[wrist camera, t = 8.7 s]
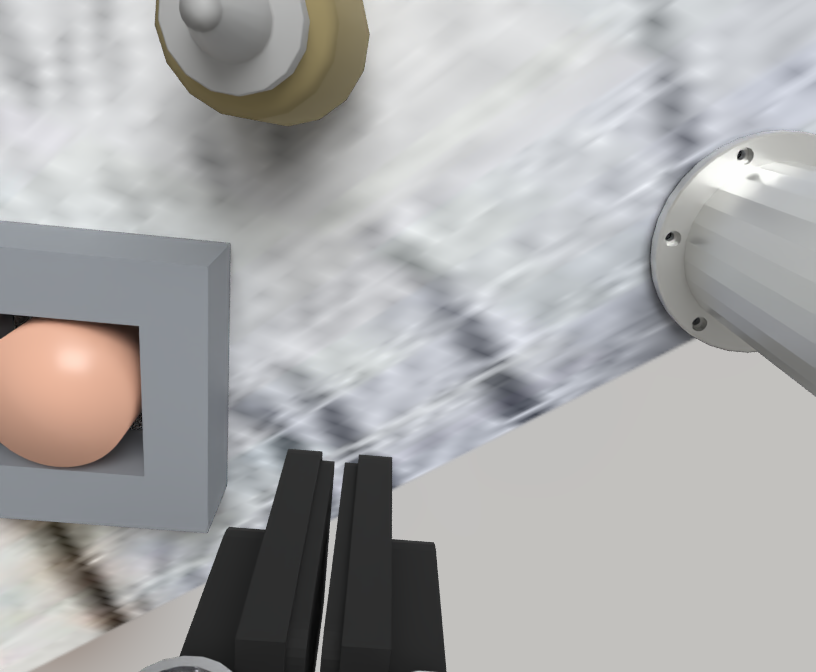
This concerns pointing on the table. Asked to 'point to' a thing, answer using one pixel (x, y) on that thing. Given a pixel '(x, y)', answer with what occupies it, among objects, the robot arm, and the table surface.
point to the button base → (160, 373)
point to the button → (68, 389)
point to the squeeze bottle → (266, 54)
